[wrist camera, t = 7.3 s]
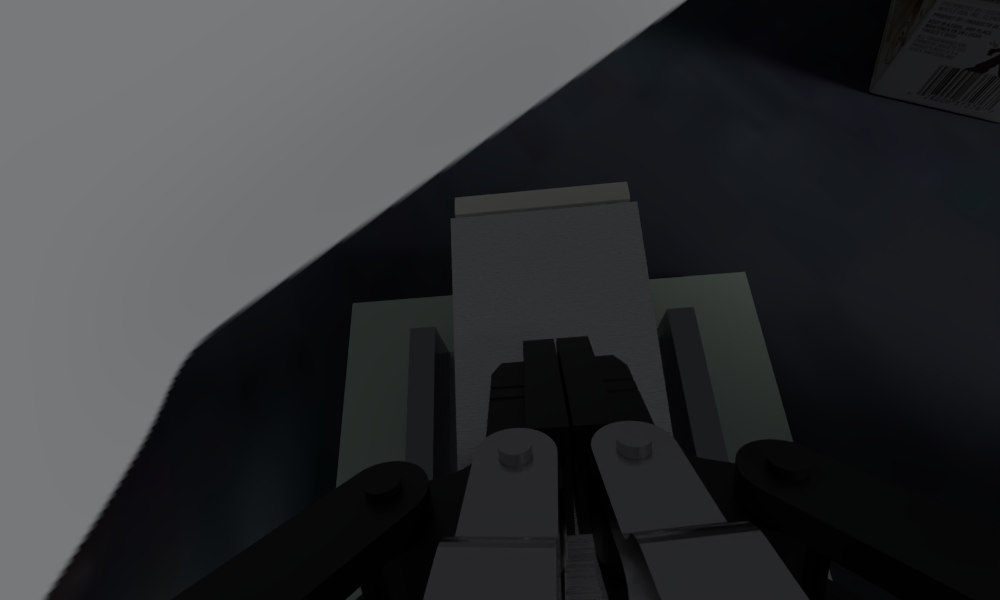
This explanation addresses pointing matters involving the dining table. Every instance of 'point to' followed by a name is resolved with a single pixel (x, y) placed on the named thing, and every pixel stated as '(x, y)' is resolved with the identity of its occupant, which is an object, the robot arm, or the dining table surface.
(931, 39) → the coffee box
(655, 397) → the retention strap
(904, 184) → the dining table surface
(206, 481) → the dining table surface
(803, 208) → the dining table surface
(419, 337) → the heat sink
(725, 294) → the grey square stand
